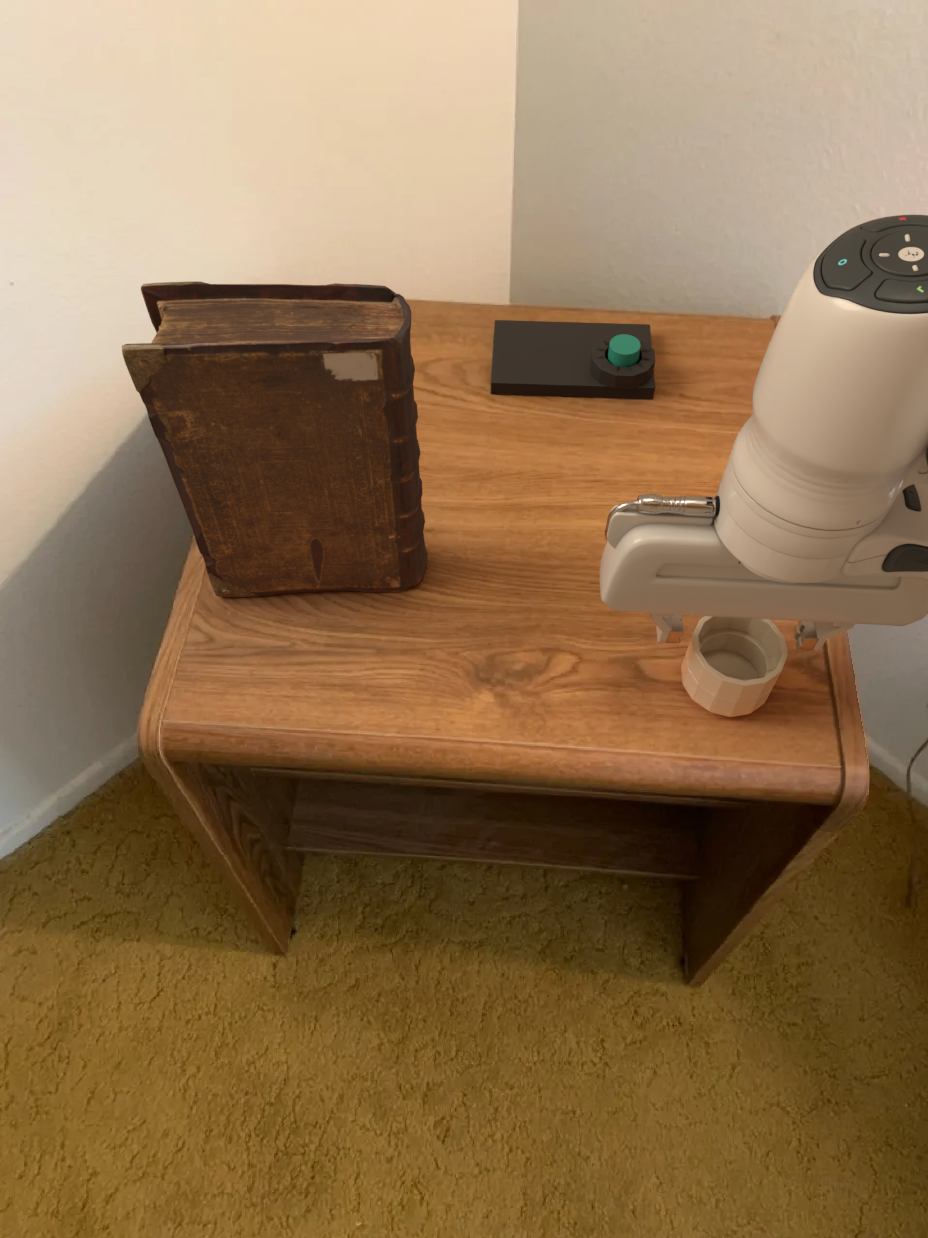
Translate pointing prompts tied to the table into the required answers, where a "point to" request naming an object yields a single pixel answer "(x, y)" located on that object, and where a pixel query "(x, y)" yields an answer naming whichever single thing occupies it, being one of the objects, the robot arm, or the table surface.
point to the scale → (568, 360)
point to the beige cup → (733, 663)
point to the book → (288, 432)
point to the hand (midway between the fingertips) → (736, 638)
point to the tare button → (624, 350)
